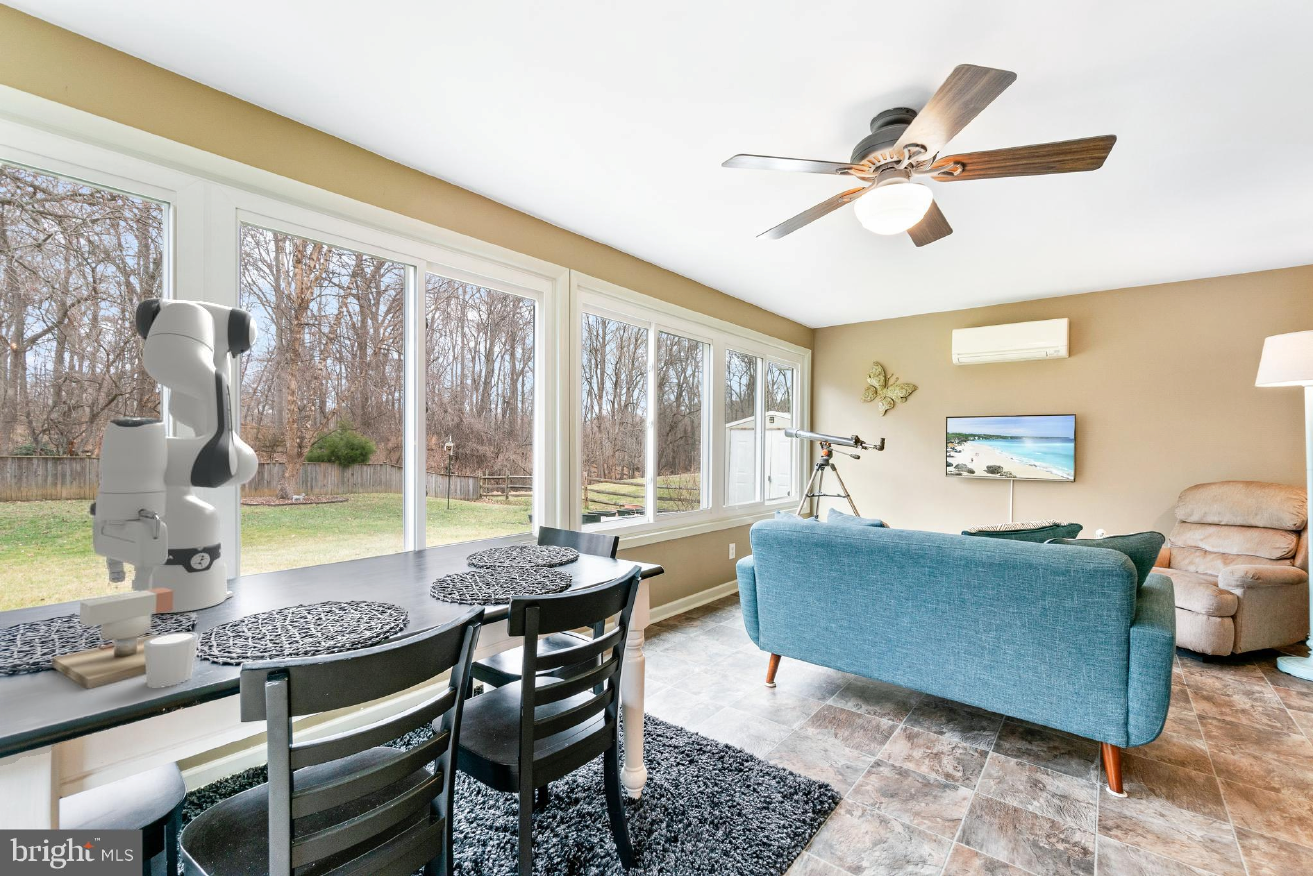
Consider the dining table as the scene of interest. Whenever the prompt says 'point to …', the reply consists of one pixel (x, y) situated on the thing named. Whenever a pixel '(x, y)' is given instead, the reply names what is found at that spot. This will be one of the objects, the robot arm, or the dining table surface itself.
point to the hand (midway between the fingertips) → (128, 585)
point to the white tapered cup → (170, 658)
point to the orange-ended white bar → (126, 612)
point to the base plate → (101, 664)
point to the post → (125, 647)
